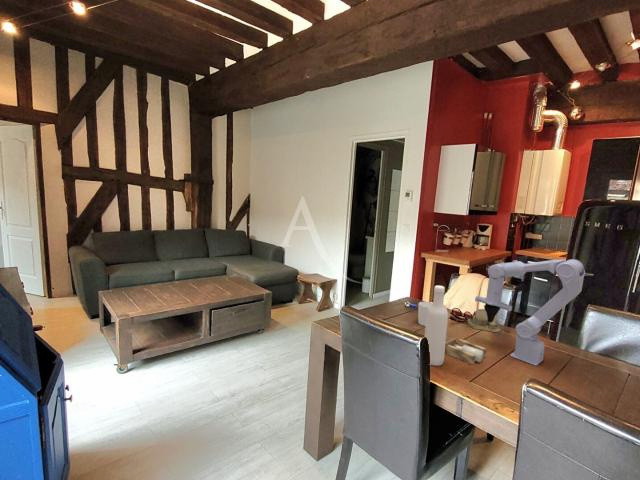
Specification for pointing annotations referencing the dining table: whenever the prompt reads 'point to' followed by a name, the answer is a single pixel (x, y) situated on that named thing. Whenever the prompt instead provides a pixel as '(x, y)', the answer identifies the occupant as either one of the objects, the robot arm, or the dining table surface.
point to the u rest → (461, 353)
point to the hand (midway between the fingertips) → (490, 321)
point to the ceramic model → (483, 321)
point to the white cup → (422, 312)
